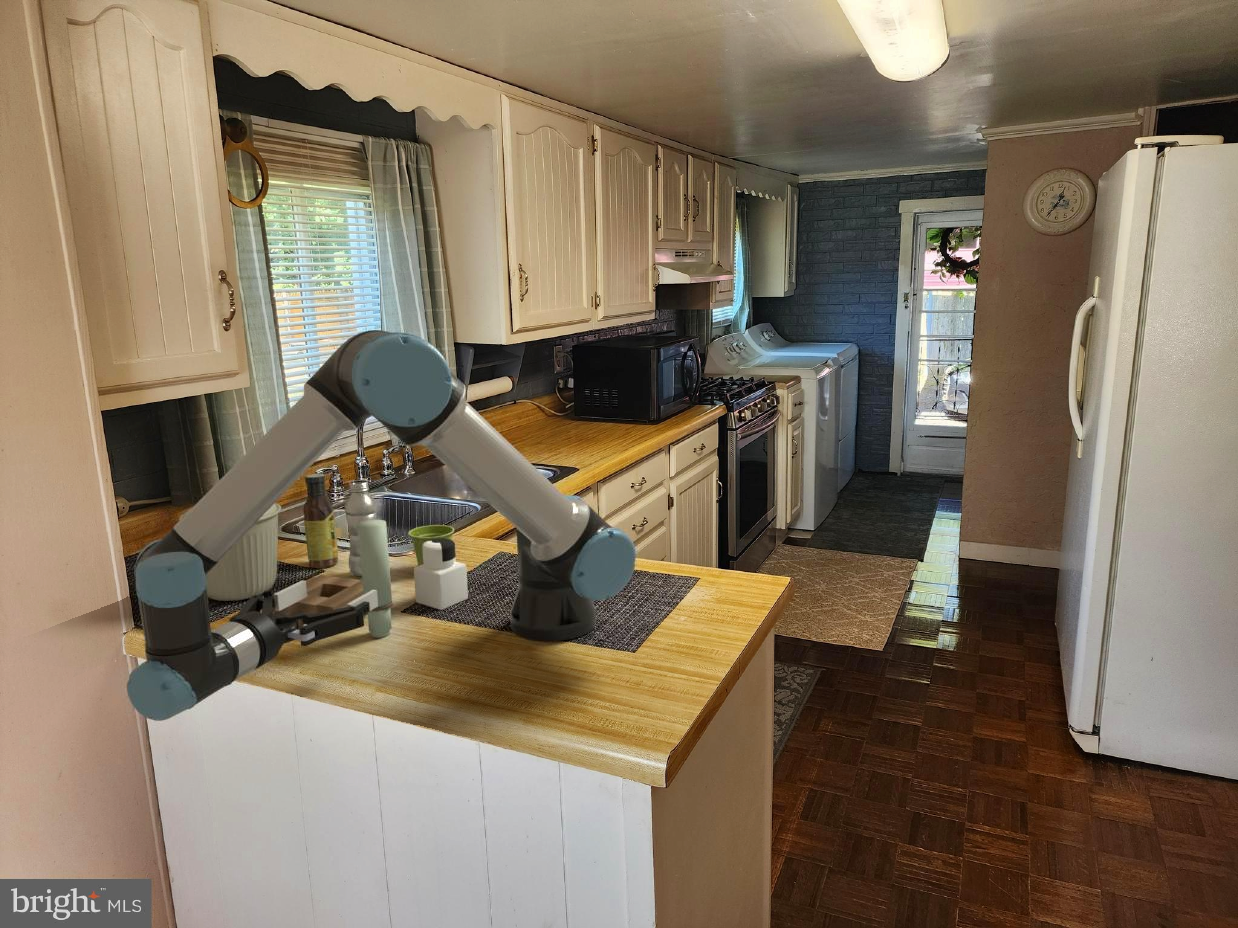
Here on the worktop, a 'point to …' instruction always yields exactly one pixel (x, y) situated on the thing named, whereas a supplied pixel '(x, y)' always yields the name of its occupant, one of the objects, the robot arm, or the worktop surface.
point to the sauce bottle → (319, 524)
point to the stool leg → (376, 574)
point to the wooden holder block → (325, 596)
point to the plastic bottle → (358, 519)
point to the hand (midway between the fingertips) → (339, 592)
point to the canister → (247, 562)
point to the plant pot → (428, 537)
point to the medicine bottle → (440, 575)
